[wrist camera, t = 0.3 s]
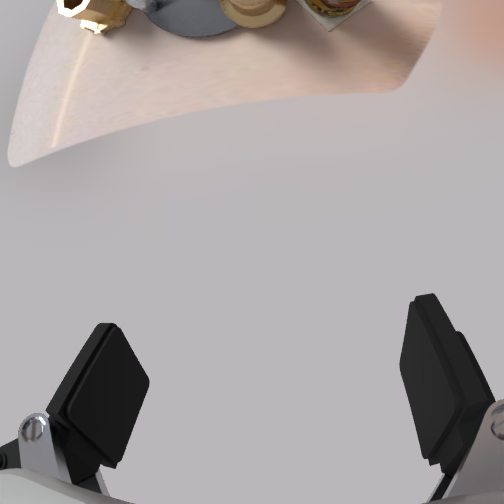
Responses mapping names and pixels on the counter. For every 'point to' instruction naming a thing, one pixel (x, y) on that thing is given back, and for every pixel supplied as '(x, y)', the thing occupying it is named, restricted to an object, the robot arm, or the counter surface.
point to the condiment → (332, 10)
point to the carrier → (210, 14)
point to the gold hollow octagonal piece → (96, 13)
